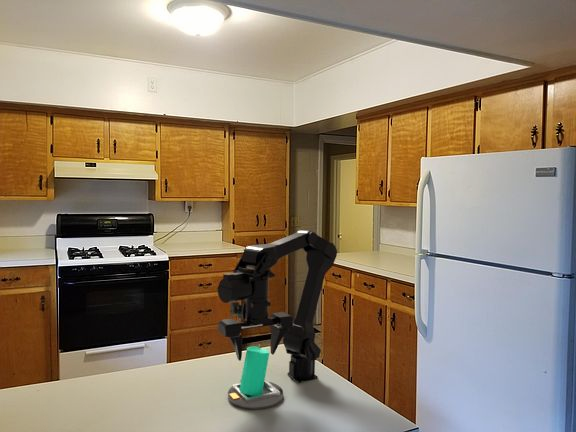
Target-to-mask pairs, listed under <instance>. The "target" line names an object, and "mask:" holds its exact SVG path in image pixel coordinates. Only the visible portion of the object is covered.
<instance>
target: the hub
mask: <svg viewBox="0 0 576 432" xmlns="http://www.w3.org/2000/svg"><path fill="white" fill-rule="evenodd" d="M240 384H241V382H238V383H234V384H232V385H231V387H229V389H228V391H227V400H228V403H230V405H232V406H233V407H235V408H239V409H242V410H245V411H246V410H248V411H261V410H262V411H263V410H267V409H270V408H274V407H276V406H277V405H279V404H280V403H281V402H282V401H283V400H284V391H283V388H282V387H281V386H279V384H276V383H274V382H272V381H268V380H267V379H266V378H265V380H264V386H263V391H262V394H261V395H257V396H252V395H247V394H244V393H242V392H241V391H240V390H239V389H240Z"/></svg>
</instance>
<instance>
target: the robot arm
mask: <svg viewBox="0 0 576 432" xmlns="http://www.w3.org/2000/svg"><path fill="white" fill-rule="evenodd" d="M337 249H338V248H336V246H335V243H333V242H330V241H329V240H327V239H325V238H323V237H321V236H319V235H318V234H317V233H316V232H314V231H313V230H306V229H305V230H304V229H301V230H298V231H297V232H295V233H292V234H290V235H288V236H286V237H283V238H280V239H277V240H275V241H273V242H270V243H265V244H262V243H261V244H253V245H248V246H246V247H245V248H244V249H243V252H242V255H241V257H240V258H239V260H238V262H237V263H236V265H235V268H234V269H233V271H232V273H228V272H227V273H223V276H222V279H221V280H220V281H219V283H218V286H217V294H218V295H217V296H218V297H219V299H220V301H221V302H223V303H224V304H229V303H230V305H229V310H230V311H229V312H230V315H231V316H236V318H237V319H241V320H244V321H238V320H236V319H235V318H228V319H221V320H219V322H218V324H217V331H218V332H219V333H220V334H221V335H222V336H224V337H225V338H228V339H229V340H230V342H231V343H232V346H233V349H234V352H235V355H236V359H237V360H238V361H239V362H240V361H242V356H243V336H242V335H241V333H242V330H249V329H255V328H261V327H262V328H263V327H268V326H269V329H270V346H269V347H270V354H271V355H275V353H276V351H277V348H278V347H279V345H280V343H281V341H282V344H283V345H284V349H285V351H286V352H285V353H286V354H289V355H290V360H289V362H288V363H289V365H288V369H289V370H288V372H287V376H288V377H290V378H291V379H293V380H294V381H295V382H297V383H304V382H308V381H312V380H317V379H318V378H319V377H318V375H317V374H315V373H316V371H315V370H316V368H315V367H316V361H317V359H319V358H320V356H321V352H322V349H321V348H320V347H319V346H318V344H316V342H315V339H316V338H315V337H316V333H315V331H316V330H315V328H314V318H315V314H316V311H317V307H318V305H319V304H318V303H319V300H320V295H321V292H322V288H323V284H324V279H325V277H326V274H327V273H328V272H329V271H330V270H331V269H332V268H333V266H334V263H335V261H336V258H337V256H338V250H337ZM299 250H302V251H304V252H305V253H306V256H305V257H306V258H305V261H306V265H307V269H308V271H307V274H306V277H305V281H304V285H303V288H302V292H301V296H300V300H299V304H298V308H297V310H296V311H297V312H296V315H295V318H293V316H292V315H290V314H289V313H286V312H284V311H278V312H272V313H271V314H270V317H269V307H270V306H271V301H269V279H270V278H275V277H276V274H275V273H274V272H273V271H271V269H272V268H273V267H275V266H276V265H277V264H278V261H279V260H280V259H282V258H284V257H286V256H288V255H290V254H292V253H295V252H297V251H299ZM239 301H242V304H240V302H239Z"/></svg>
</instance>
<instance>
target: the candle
mask: <svg viewBox="0 0 576 432" xmlns="http://www.w3.org/2000/svg"><path fill="white" fill-rule="evenodd" d="M260 345H261V344H260V343H259V344H258V346H247V348H246V350H245V357H244V358H245V359H244V363H243V367H242V375H241V379H240V383H241V384H240V389H239V390H240V391H241V392H242V393H244V394H247V395H252V396H257V395H261V394H262V391H263V386H264V380H265V379H266V374H267V370H268V369H267V367H268V362H269V357H270V351H269V350H268V349H267V348H261V347H260Z"/></svg>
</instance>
